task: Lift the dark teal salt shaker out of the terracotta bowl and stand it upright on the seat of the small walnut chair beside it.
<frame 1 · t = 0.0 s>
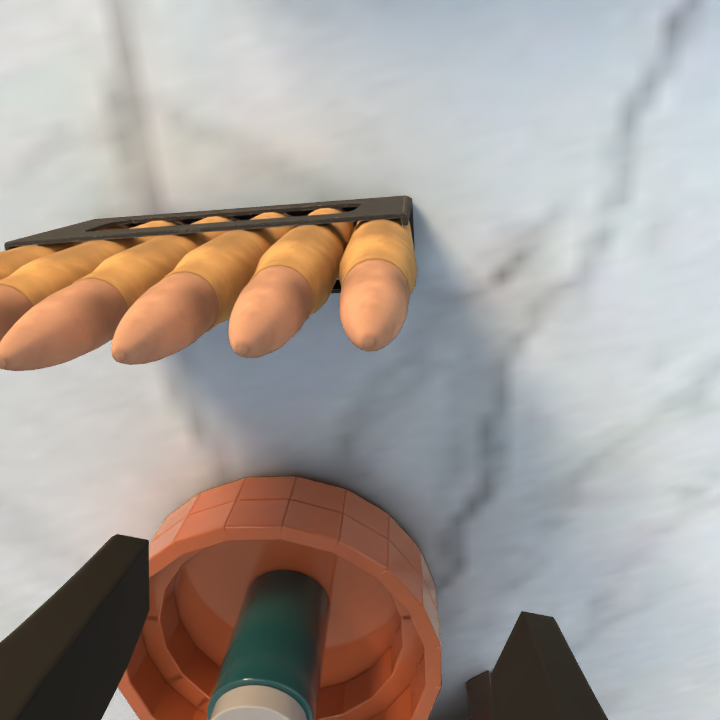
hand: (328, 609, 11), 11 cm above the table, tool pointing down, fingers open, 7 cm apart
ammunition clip: (253, 235, 20), on the table
salt shaker: (287, 604, 24), resting on bowl
bowl: (288, 597, 25), on the table
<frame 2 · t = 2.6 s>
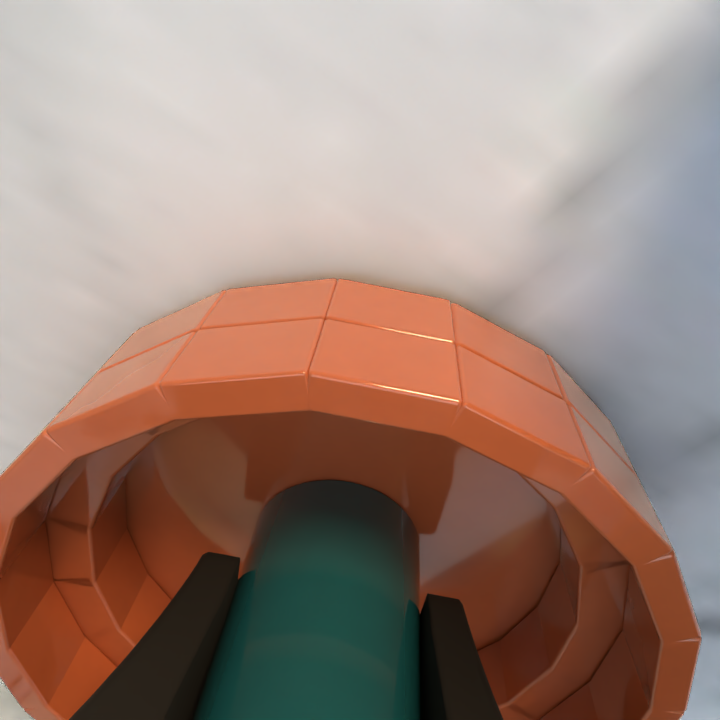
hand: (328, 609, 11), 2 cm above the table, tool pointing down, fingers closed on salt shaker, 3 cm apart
salt shaker: (336, 542, 13), resting on bowl, touching gripper
bowl: (340, 528, 13), on the table
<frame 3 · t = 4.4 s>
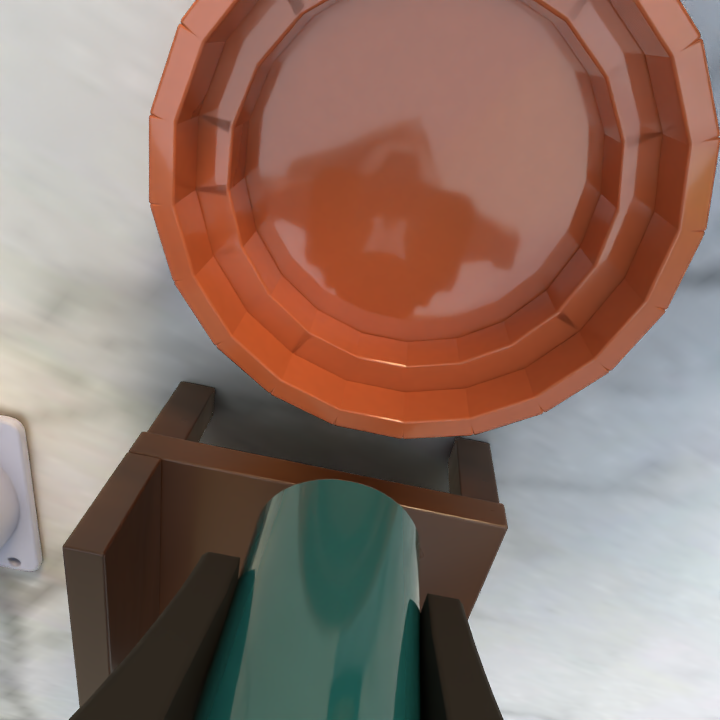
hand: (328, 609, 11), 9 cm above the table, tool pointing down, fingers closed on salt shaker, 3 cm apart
chair: (313, 523, 23), on the table
salt shaker: (337, 541, 13), point 7 cm above the table, touching gripper
bowl: (419, 181, 16), on the table
when the fingers open (6 cm above the table, at t = 6.2 s): salt shaker stays where it is, resting on chair.
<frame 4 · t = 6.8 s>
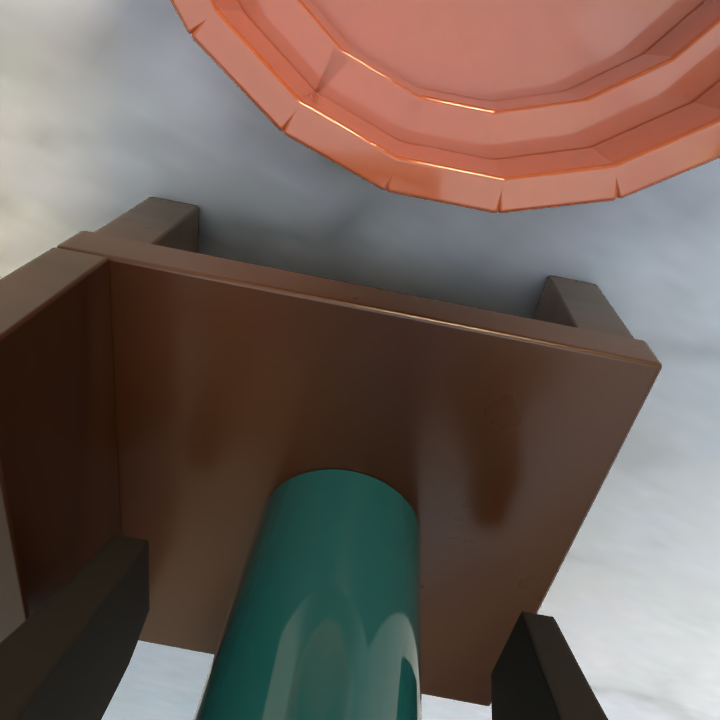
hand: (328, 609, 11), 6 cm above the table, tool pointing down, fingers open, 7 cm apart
chair: (339, 422, 17), on the table
salt shaker: (339, 530, 13), point 4 cm above the table, touching chair
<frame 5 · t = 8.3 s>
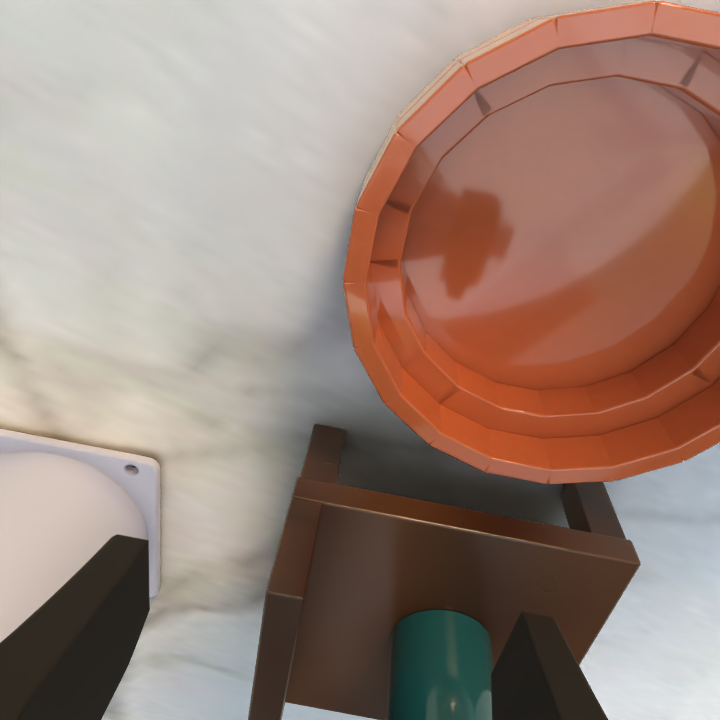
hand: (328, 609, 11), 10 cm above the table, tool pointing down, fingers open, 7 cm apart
chair: (425, 552, 24), on the table
salt shaker: (439, 642, 21), point 4 cm above the table, touching chair
bowl: (561, 247, 17), on the table
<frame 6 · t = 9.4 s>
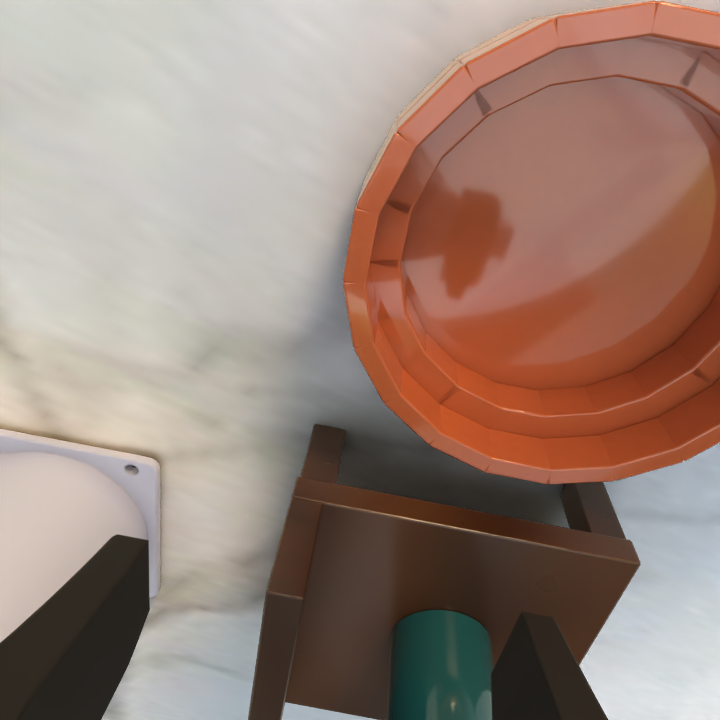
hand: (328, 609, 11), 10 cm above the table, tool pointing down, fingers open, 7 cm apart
chair: (425, 552, 24), on the table
salt shaker: (439, 642, 21), point 4 cm above the table, touching chair
bowl: (561, 247, 17), on the table
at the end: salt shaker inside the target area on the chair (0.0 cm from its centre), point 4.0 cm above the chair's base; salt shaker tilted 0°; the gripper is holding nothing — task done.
